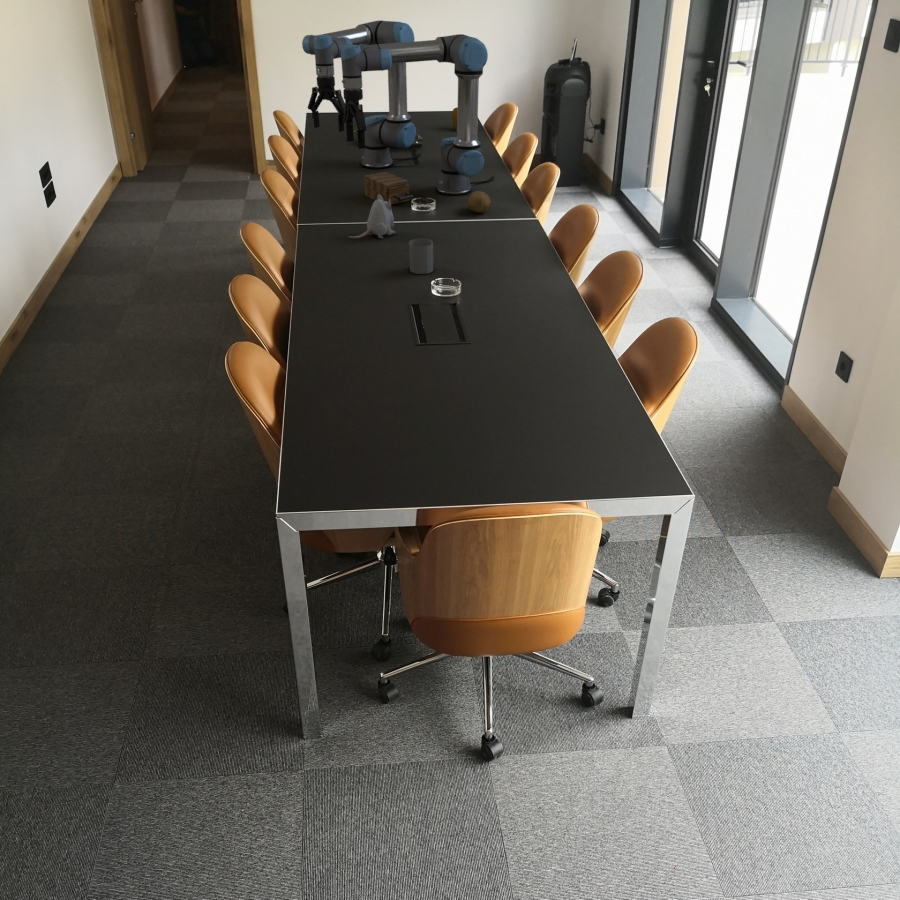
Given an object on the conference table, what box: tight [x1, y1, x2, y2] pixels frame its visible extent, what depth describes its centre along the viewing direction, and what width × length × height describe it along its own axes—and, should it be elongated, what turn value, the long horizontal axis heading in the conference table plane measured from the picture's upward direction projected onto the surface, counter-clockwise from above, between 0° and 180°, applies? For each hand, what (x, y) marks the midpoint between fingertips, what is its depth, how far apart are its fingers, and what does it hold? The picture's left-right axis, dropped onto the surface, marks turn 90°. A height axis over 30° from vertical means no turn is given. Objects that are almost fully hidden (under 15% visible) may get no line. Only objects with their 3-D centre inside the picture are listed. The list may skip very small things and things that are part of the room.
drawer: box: [388, 183, 414, 205], centre depth 375 cm, size 22×10×7 cm, turn 36°
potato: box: [467, 190, 491, 214], centre depth 363 cm, size 10×14×8 cm
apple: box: [451, 106, 458, 131], centre depth 487 cm, size 11×11×13 cm
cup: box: [408, 237, 434, 275], centre depth 305 cm, size 8×8×10 cm
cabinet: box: [363, 171, 409, 206], centre depth 378 cm, size 18×11×9 cm, turn 36°
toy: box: [347, 194, 396, 240], centre depth 332 cm, size 9×24×15 cm, turn 137°
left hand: (329, 129), depth 373 cm, fingers open, 13 cm apart
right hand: (356, 144), depth 350 cm, fingers open, 13 cm apart
